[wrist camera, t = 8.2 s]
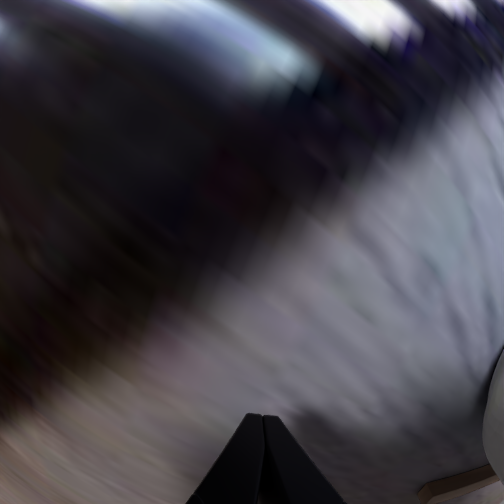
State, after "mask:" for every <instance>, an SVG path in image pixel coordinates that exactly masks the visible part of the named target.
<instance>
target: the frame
mask: <svg viewBox="0 0 504 504" xmlns="http://www.w3.org/2000/svg"><path fill="white" fill-rule="evenodd" d="M499 480H500V479H499V477H498V476H497V474H496V473H495V471H494V470H493V468H492V466H491V465H490V464H489V465H486V466H483V467H481V468H478V469H475V470H472V471H469V472H466V473H462V474H459V475H456V476H452V477H449V478H445V479H442V480H438V481H434V482H430V483H426V484H425V486H424V487H423V488H422V489H421V490H420V491H419V493H418V494H417V495H418V497H419V500H420V502H421V504H437V503H440V502H444V501H447V500H450V499H453V498H456V497H459V496H461V495H464V494H467V493H470V492H472V491H475V490H477V489H480V488H482V487H485V486H487V485H490V484H492V483H494V482H497V481H499Z"/></svg>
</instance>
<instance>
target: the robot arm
mask: <svg viewBox="0 0 504 504" xmlns="http://www.w3.org/2000/svg"><path fill="white" fill-rule="evenodd" d="M185 504H347V503H346V502H343V499H342V497H341V496H340V495H339V494H338V493H337V491H336V490H335V489H334V488H333V487H332V485H331V484H330V483H329V482H328V480H327V479H326V478H325V477H324V475H323V474H322V473H321V472H320V470H319V469H318V468H317V467H316V465H315V464H314V463H313V462H312V460H311V459H310V458H309V457H308V455H307V454H306V453H305V451H304V450H303V449H302V447H301V446H300V445H299V443H298V442H297V441H296V440H295V438H294V437H293V436H292V434H291V433H290V432H289V430H288V429H287V427H286V426H285V425H284V423H283V422H282V421H281V419H280V418H279V417H278V416H272V415H263V416H262V415H261V414H254V413H247V414H246V415H245V417H244V418H243V420H242V422H241V423H240V425H239V426H238V428H237V429H236V431H235V433H234V434H233V436H232V437H231V439H230V440H229V442H228V443H227V445H226V446H225V448H224V449H223V451H222V452H221V454H220V455H219V457H218V458H217V460H216V461H215V463H214V464H213V466H212V467H211V469H210V470H209V472H208V473H207V475H206V476H205V477H204V479H203V480H202V482H201V483H200V484H199V486H198V487H197V489H196V490H195V492H194V494H192V495H191V497H190V498H189V499H188V501H187V502H186V503H185Z"/></svg>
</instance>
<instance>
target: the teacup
mask: <svg viewBox="0 0 504 504" xmlns="http://www.w3.org/2000/svg"><path fill="white" fill-rule="evenodd" d="M482 441H483V447H484V451H485V454H486V457H487V459H488V461H489V463H490V465H491V466H492V468H493V470H494V471H495V473H496V474H497V476H498V477H499V479H500V480H501V482H502V483H503V485H504V350H503V352H502V354H501V356H500V358H499V361H498V363H497V366H496V369H495V371H494V374H493V377H492V381H491V384H490V389H489V393H488V402H487V406H486V410H485V414H484V419H483V427H482Z"/></svg>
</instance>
